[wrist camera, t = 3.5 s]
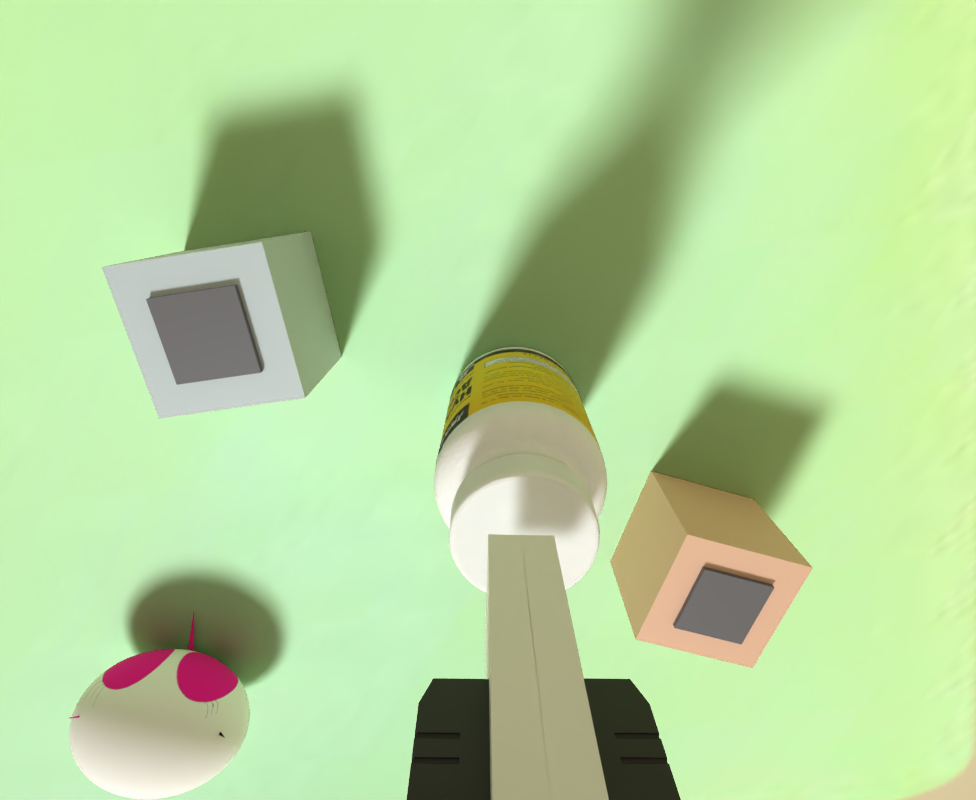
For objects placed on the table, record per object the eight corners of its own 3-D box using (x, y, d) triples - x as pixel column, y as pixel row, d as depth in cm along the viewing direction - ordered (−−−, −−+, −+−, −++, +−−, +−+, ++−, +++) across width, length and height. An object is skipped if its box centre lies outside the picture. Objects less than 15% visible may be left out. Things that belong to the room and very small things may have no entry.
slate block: (225, 372, 23) (155, 420, 19) (185, 250, 22) (97, 267, 17) (342, 356, 23) (303, 399, 18) (311, 231, 21) (259, 242, 17)
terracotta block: (610, 560, 27) (636, 643, 22) (650, 470, 25) (689, 537, 20) (707, 585, 27) (754, 671, 22) (753, 498, 25) (815, 571, 21)
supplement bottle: (454, 337, 23) (430, 436, 14) (586, 350, 23) (651, 457, 14) (443, 456, 25) (416, 615, 16) (566, 468, 25) (611, 631, 16)
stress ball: (288, 610, 32) (261, 631, 25) (249, 769, 30) (209, 835, 23) (147, 589, 31) (83, 604, 24) (98, 751, 29) (13, 813, 22)
